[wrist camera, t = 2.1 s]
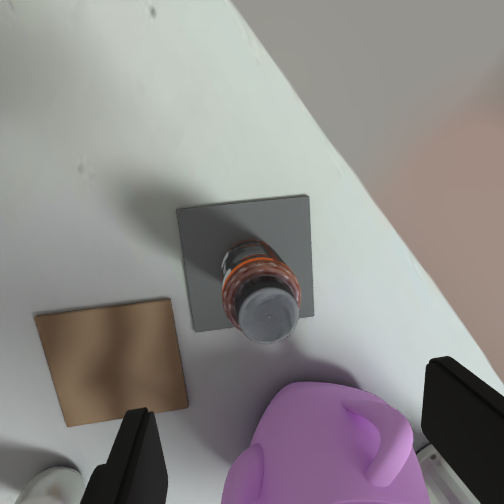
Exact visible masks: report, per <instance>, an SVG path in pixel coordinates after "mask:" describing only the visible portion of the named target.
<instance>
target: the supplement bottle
mask: <svg viewBox="0 0 504 504" xmlns="http://www.w3.org/2000/svg"><path fill="white" fill-rule="evenodd" d="M221 279H222V303H223V308H224V311H225V314H226V316H227V318H228V320H229V321H230V322H231V323H232V324H233V325H234V326H235V327H236V328H237V329H238V330H240V331H241V332H243V333H244V334H245V335H246V336H247V337H248V338H249V339H250V340H252V341H254V342H257V343H262V344H272V343H276V342H279V341H281V340H283V339H285V338H286V337H288V336H289V335H290V334H291V333H292V332H293V330H294V329H295V327H296V325H297V322H298V319H299V309H300V304H301V289H300V285H299V282H298V280H297V278H296V276H295V275H294V274H293V272H292V271H291V270H290V268H289V267H288V266H287V265H286V264H285V262H284V261H283V260H282V259H281V257H280V256H279V255H278V254H277V253H276V252H275V250H274V249H273V248H271V247H270V246H269V245H268V244H266V243H264V242H262V241H259V240H254V239H250V240H244V241H241V242H238V243H236V244H235V245H233V246H232V247H231V248H230V249H229V250H228V251H227V253H226V254H225V256H224V258H223V262H222V267H221Z"/></svg>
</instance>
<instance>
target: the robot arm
mask: <svg viewBox="0 0 504 504" xmlns="http://www.w3.org/2000/svg"><path fill="white" fill-rule="evenodd" d="M421 428H422V431H423V433H424V435H425V436H426V438H427V439H428V440H429V442H430V443H431V444H430V445H428V446H427V447H425V448H424V449H422V450H421V451H420V452H419V453H418V454H417V455H416V456H417V459H418V462H419V465H420V468H421V471H422V475H423V478H424V481H425V485H426V488H427V492H428V495H429V499H430V503H431V504H504V396H502V395H501V394H500V393H498V392H497V391H496V390H494V389H493V388H492V387H490V386H489V385H488V384H486V383H485V382H484V381H482V380H481V379H480V378H478V377H477V376H476V375H474V374H473V373H472V372H470V371H469V370H468V369H466V368H465V367H464V366H462V365H461V364H460V363H458V362H457V361H456V360H454V359H453V358H451V357H449V356H444V357H439V358H433V359H431V360H430V361H429V364H427V365H426V372H425V384H424V395H423V407H422V419H421ZM167 489H168V474H167V469H166V465H165V460H164V456H163V451H162V447H161V442H160V437H159V433H158V428H157V424H156V419H155V415H154V412H153V411H150V412H148V409H147V407H144V408H138V409H132V410H128V411H126V413H125V416H124V418H123V421H122V423H121V426H120V429H119V431H118V434H117V436H116V439H115V442H114V444H113V447H112V450H111V452H110V455H109V457H108V460H107V463H106V464H102V465H98V466H97V467H96V468H95V469H94V471H93V473H92V475H91V477H90V480H89V482H88V485H87V487H86V489H85V492H84V494H83V497H82V499H81V501H80V504H165V502H166V496H167Z"/></svg>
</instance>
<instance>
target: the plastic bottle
mask: <svg viewBox="0 0 504 504" xmlns="http://www.w3.org/2000/svg"><path fill="white" fill-rule="evenodd" d="M85 489H86V488H85V482H84V479H83V477H82V475H81V474H80V473H79V472H78V471H76V470H74V469H72V468H69V467H64V466H57V467H52V468H49V469H47V470H45V471H43V472H41V473H40V474H38V475H36V476H35V477H34V478H33V479H32V480H31V481H30V482H29V484H28V485H27V486H26V487H25V488H24V490H23V491H22V492H21V493H20V495H19V496H18V498H17V500H16V502H15V504H80V501H81V499H82V497H83V494H84V492H85Z"/></svg>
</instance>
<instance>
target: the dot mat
mask: <svg viewBox="0 0 504 504" xmlns="http://www.w3.org/2000/svg"><path fill="white" fill-rule="evenodd" d="M176 211H177V218H178V224H179V231H180V237H181V244H182V250H183V257H184V263H185V270H186V276H187V283H188V289H189V296H190V302H191V309H192V315H193V322H194V328H195V332H202V331H210V330H217V329H224V328H232V327H235V326H234V325H233V324H232V323H231V322H230V321H229V320H228V318H227V316H226V314H225V311H224V308H223V303H222V279H221V267H222V262H223V258H224V256H225V254H226V253H227V251H228V250H229V249H230V248H231V247H232V246H233V245H235V244H236V243H238V242H241V241H244V240H250V239H254V240H259V241H262V242H264V243H266V244H268V245H269V246H270V247H271V248H273V249H274V250H275V252H276V253H277V254H278V255H279V256H280V257H281V259H282V260H283V261H284V262H285V264H286V265H287V266H288V267H289V268H290V270H291V271H292V272H293V274H294V275H295V276H296V278H297V280H298V282H299V285H300V289H301V304H300V309H299V318H305V317H312V316H314V298H313V274H312V251H311V227H310V203H309V196H305V197H295V198H284V199H274V200H264V201H254V202H244V203H234V204H224V205H214V206H204V207H194V208H184V209H176Z"/></svg>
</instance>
